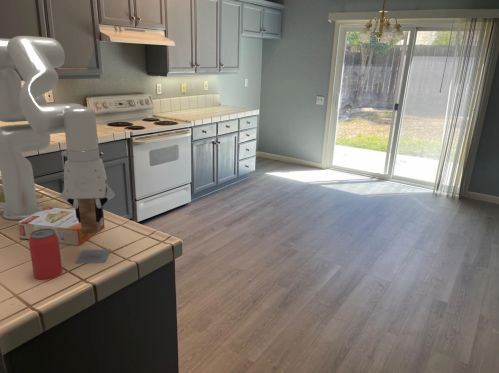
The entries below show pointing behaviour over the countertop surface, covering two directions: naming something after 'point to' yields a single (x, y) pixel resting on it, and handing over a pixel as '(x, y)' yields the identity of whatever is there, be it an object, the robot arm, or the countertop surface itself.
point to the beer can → (45, 254)
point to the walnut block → (88, 216)
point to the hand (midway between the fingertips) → (90, 219)
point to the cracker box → (57, 225)
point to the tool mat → (93, 256)
